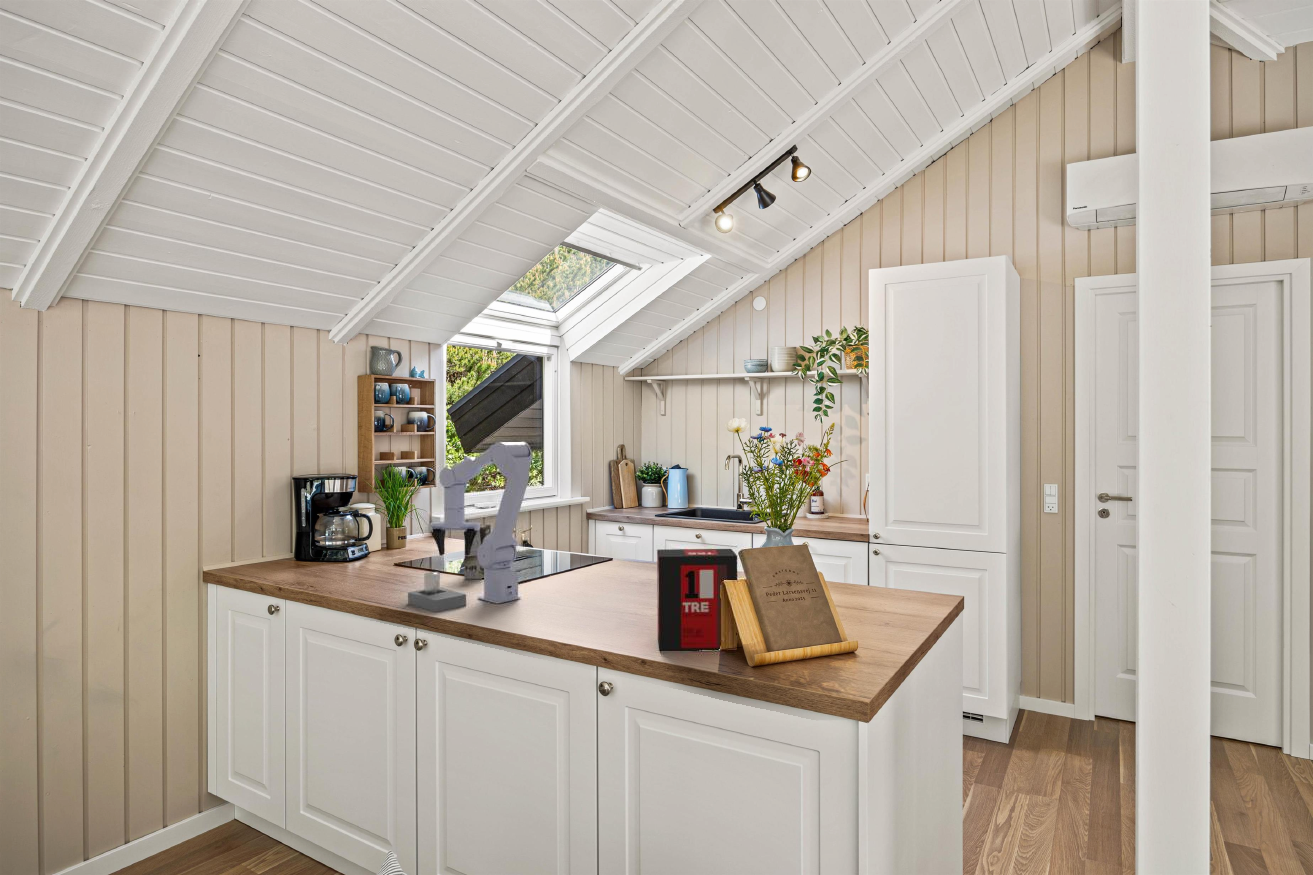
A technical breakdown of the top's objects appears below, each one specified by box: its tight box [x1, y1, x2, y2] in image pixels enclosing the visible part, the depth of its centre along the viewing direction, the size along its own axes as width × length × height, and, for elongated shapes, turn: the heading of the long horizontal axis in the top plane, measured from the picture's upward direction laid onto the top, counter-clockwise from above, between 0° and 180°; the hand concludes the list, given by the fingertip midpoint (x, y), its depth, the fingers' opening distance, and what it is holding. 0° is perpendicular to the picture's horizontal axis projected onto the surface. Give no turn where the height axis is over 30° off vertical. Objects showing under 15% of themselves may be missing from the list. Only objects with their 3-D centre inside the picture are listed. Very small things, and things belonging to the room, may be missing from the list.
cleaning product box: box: [656, 548, 738, 652], centre depth 151 cm, size 16×9×20 cm, turn 92°
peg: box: [423, 571, 441, 595], centre depth 190 cm, size 4×4×8 cm
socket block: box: [407, 586, 467, 613], centre depth 188 cm, size 14×9×3 cm, turn 48°
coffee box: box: [464, 524, 492, 580], centre depth 225 cm, size 9×6×16 cm
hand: (454, 554), depth 205 cm, fingers open, 7 cm apart
